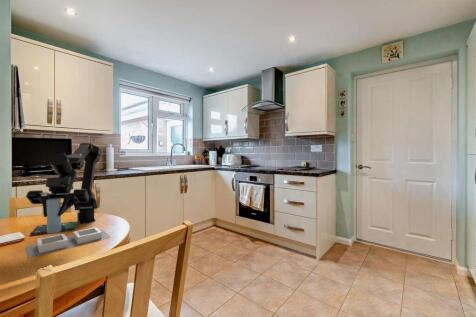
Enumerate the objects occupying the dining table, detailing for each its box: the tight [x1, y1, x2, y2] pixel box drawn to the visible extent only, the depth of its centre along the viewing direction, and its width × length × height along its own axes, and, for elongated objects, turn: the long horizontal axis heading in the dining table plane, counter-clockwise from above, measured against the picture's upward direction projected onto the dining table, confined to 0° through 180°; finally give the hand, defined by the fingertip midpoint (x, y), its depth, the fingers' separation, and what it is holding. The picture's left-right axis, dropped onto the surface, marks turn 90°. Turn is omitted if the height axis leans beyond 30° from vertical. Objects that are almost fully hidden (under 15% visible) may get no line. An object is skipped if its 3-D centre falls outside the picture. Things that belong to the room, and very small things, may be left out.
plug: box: [46, 198, 62, 234], centre depth 83 cm, size 4×4×12 cm
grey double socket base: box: [25, 226, 112, 259], centre depth 87 cm, size 25×12×4 cm, turn 136°
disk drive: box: [29, 221, 78, 237], centre depth 100 cm, size 10×3×15 cm
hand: (52, 216), depth 82 cm, fingers closed on plug, 4 cm apart
